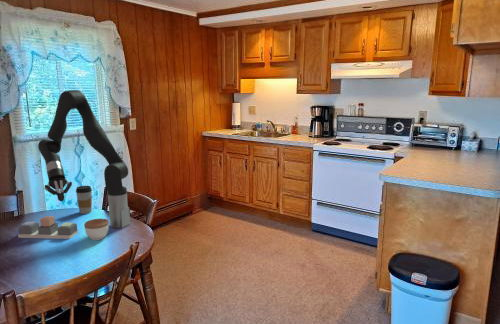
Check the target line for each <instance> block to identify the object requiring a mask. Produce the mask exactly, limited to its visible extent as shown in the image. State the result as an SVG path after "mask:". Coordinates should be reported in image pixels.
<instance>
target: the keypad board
mask: <svg viewBox="0 0 500 324" xmlns="http://www.w3.org/2000/svg"><path fill="white" fill-rule="evenodd" d="M17 229H18V234H17V236H18V238H19V239H20V238H22V239H59V240H63V239H65V240H70V239H71V238H73V237H74V236H76V235H77V234H78V233H79V229H78V223H74V225H73V226H72V227H70V228H60V226H59V223H58V222H55V223H54V224H53V225H51V226H50V227H48V226H41V225H40V222H36V224H35V225H33V226H31V227H21V225H20V226H18V228H17Z"/></svg>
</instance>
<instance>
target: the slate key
mask: <svg viewBox="0 0 500 324" xmlns="http://www.w3.org/2000/svg"><path fill="white" fill-rule="evenodd" d="M36 223H37V221H26V222H24V223H22V224H21V225H20V226H21V227H31V226H33V225H35V224H36Z"/></svg>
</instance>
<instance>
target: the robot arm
mask: <svg viewBox="0 0 500 324" xmlns="http://www.w3.org/2000/svg"><path fill="white" fill-rule="evenodd" d="M71 110H77V111H78V113H79V116H80V117H81V120H82V132H83V135H84V137H85V140H87V142H88V144H89V145H90V147H91V148H93V150H95V151H96V152H97V153H99V154H100V155H101V156H102V157H103V158H105V160H106V162H107V164H108V165H106V166H105V168H104V172H103V173H104V174H103V175H104V177H103V178H104V185H105V189H106V191H107V200H108V201H107V202H108V213H109V214H108V215H109V227H110V228H112V229H120V228H121V229H123V228H125V227H127V226H129V225H131V214H130V213H131V212H130V207H129V206H128V192H127V191H128V189H127V187H126V186H123V181H122V180H123V179H125V178H127V177H128V175H129V168H128V166H127V164H126V163H125V161H124V160H123V159H122V158H121V156H120V155H119V153H118V152H117V151H116V149H115V147H114V146H113V144H112V143H111V141H110V139H109V137H108V135H107V133H106V132H105V131H104V129H103V127H102V126H101V123H99V120H98V119H97V118H96V116H95V114H94V112H93V109H92V108H91V105H90V103H89V102H88V99H87V97H86V95H85V94H84V93H83V92H82V91H80V90H79V89H78V90H77V89H76V90H75V89H73V90H65V91H63V92H61V93H60V95H59V97H58V101H57V107H56V109H55V114H54V118H53V121H52V124H51V126H50V127H49V130H48V131H47V137H48V139H41V140H40V141H39V142H38V143H37V148H38V151H39V153H40V155H41V156H42V158H43V159H44V162H45V170H46V174H47V178H48V179H47V180H48V183H47V184H45V185H44V190H45V191H46V192H48V193H50V194H51V195H53V196H56V198H57V200H58V201H59V202H64V200H65V194H67V193H68V191H69V190H70V189H71V187H72V186H73V182H72V181H70V182H69V181H68V180H67V178H66V176H65V171H64V167H63V164H62V160H61V157H60V155H59V154H58V153H60V152H61V149H62V141H63V137H64V135H65V133H66V131H67V129H68V122H67V116H68V114H69V113H70V112H71Z"/></svg>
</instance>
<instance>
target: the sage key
mask: <svg viewBox="0 0 500 324" xmlns="http://www.w3.org/2000/svg"><path fill="white" fill-rule="evenodd" d="M74 224H75V223H74V222H63V223H62V224H60V225H59V227H60V228H70V227H72V226H73V225H74Z"/></svg>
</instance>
